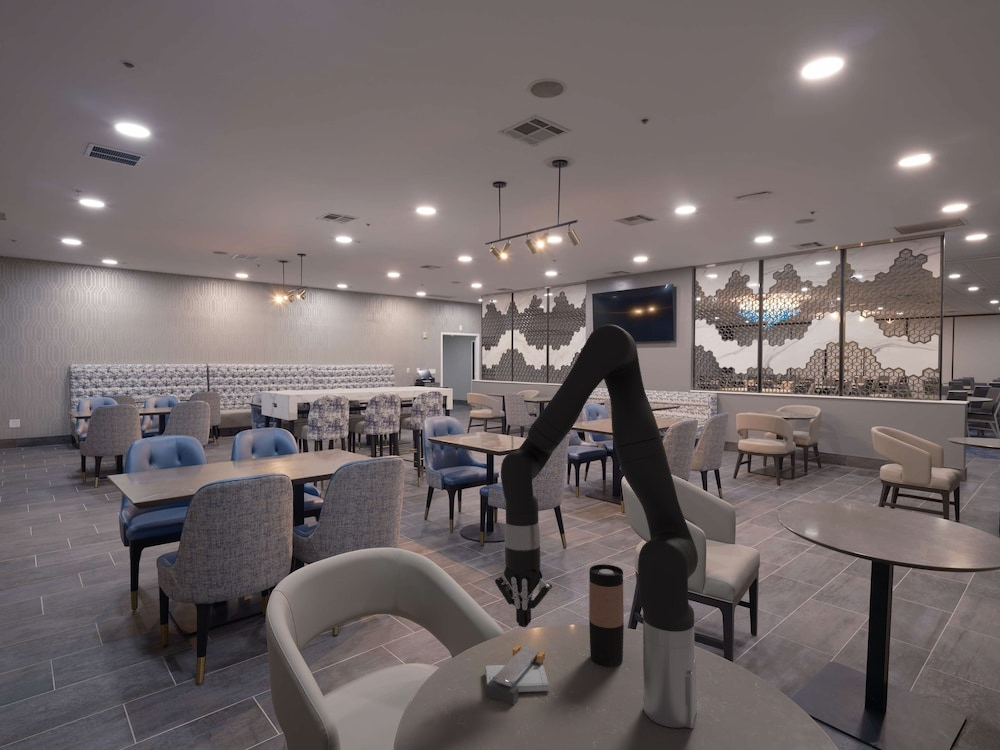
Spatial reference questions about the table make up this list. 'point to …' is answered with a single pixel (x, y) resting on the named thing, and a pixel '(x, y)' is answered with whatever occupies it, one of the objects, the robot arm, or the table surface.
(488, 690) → the bracket
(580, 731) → the table surface
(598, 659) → the travel mug
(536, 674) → the hard drive
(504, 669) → the grey flat bar
